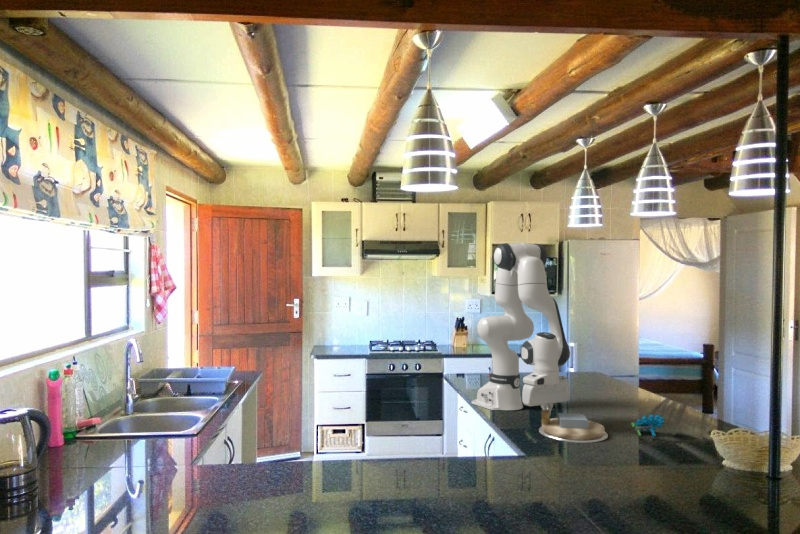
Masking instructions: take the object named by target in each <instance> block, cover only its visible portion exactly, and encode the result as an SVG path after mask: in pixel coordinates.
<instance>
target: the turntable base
mask: <svg viewBox="0 0 800 534" xmlns="http://www.w3.org/2000/svg"><path fill="white" fill-rule="evenodd" d="M538 432H539V433H540V434H541V435H542V436H544V437H546V438H549V439H552V440H556V441H561V442H567V443H577V444H578V443H580V444H588V443H598V442H603V441H605V440H607V439H608V437H609V435H608V433H607V432H606V431H605V435H604V436H603V437H601V438H598V439H591V440H575V439H566V438H560V437H555V436H552V435H549V434H547V433H545V432H544V431H543V430H542V426H540V427H539V428H538Z"/></svg>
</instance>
